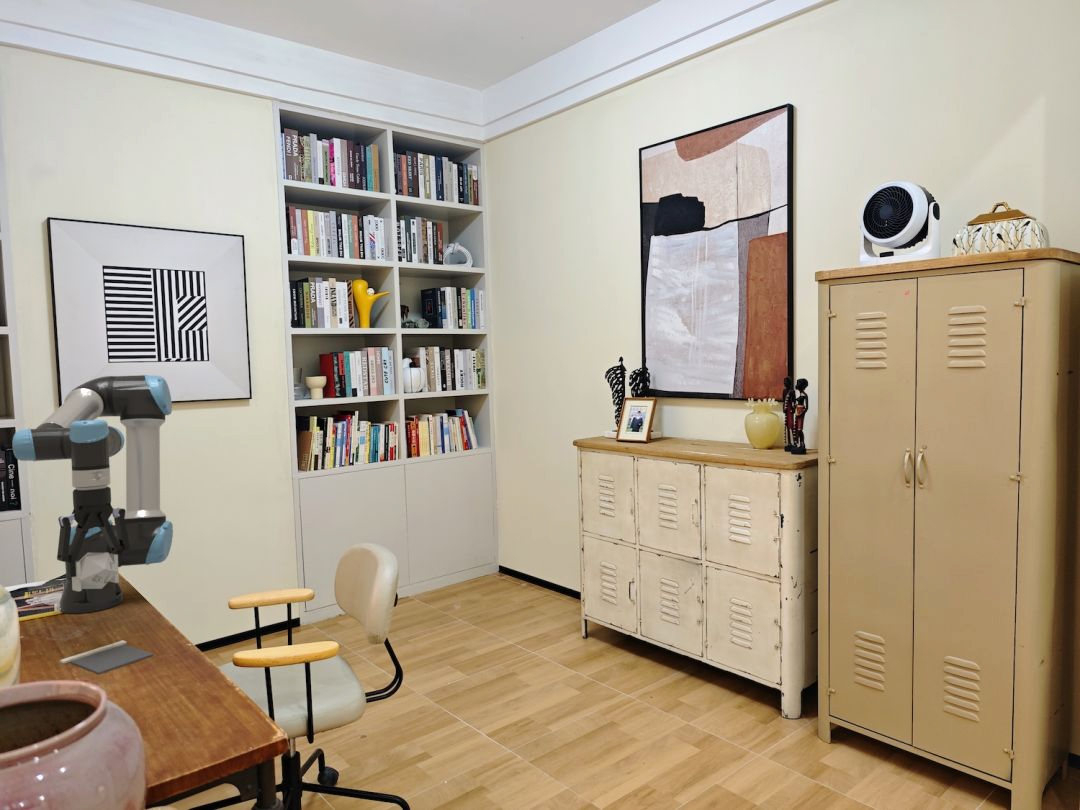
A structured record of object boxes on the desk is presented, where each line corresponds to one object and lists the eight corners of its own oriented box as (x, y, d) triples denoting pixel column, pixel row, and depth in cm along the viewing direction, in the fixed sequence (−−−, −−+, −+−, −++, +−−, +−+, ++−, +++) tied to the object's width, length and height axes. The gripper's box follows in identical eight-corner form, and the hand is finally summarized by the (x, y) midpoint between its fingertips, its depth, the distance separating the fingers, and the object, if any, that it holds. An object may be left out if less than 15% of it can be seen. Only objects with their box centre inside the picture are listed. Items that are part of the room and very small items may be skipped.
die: (82, 597, 166) (111, 560, 169) (55, 576, 168) (84, 540, 171) (104, 600, 174) (132, 564, 176) (78, 580, 176) (105, 545, 178)
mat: (123, 642, 180) (122, 640, 180) (157, 654, 172) (157, 652, 172) (60, 662, 169) (60, 659, 169) (93, 675, 161) (93, 673, 161)
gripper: (50, 494, 161) (55, 599, 162) (144, 482, 178) (148, 577, 179) (34, 492, 165) (39, 594, 166) (128, 481, 182) (132, 574, 183)
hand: (95, 585), depth 172 cm, fingers closed on die, 7 cm apart
